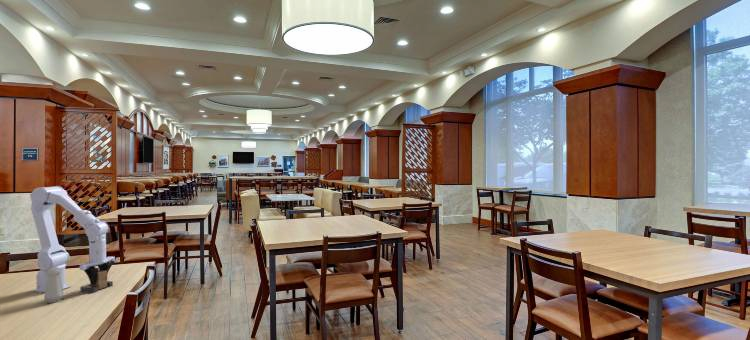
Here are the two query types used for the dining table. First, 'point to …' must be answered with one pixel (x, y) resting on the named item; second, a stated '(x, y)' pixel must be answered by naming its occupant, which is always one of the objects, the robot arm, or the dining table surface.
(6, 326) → the dining table surface
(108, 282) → the bracket slot
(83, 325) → the dining table surface
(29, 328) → the dining table surface
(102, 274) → the brown upright block
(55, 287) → the grey vase
